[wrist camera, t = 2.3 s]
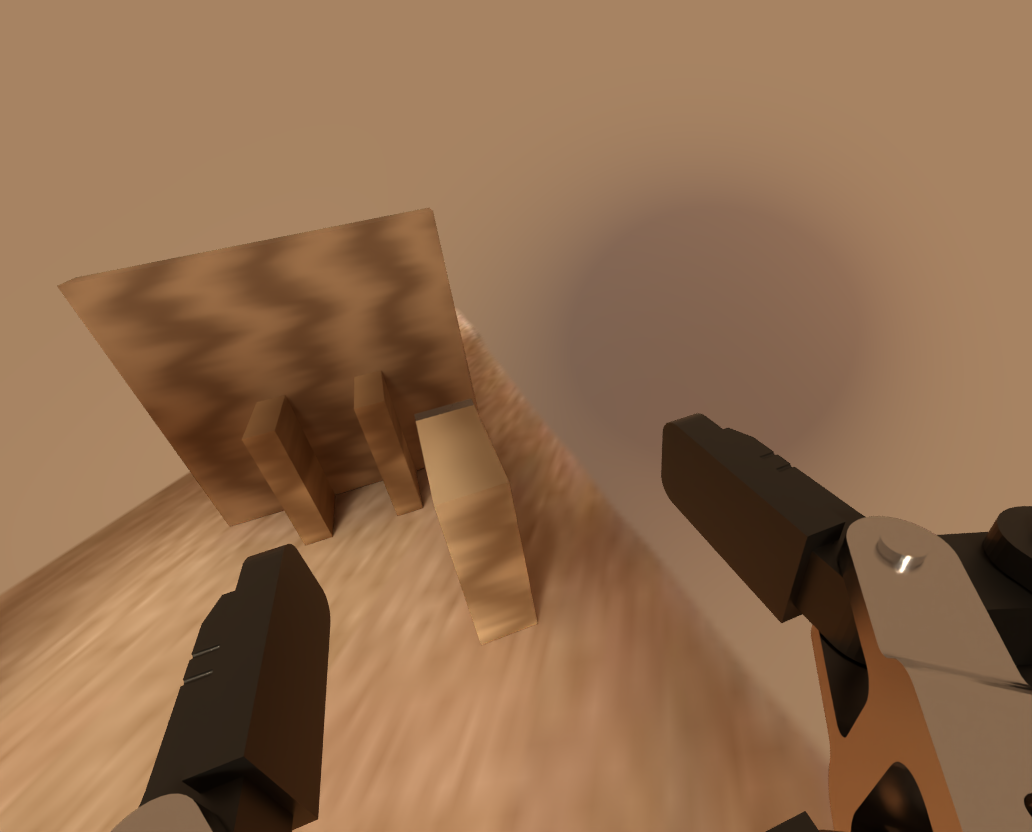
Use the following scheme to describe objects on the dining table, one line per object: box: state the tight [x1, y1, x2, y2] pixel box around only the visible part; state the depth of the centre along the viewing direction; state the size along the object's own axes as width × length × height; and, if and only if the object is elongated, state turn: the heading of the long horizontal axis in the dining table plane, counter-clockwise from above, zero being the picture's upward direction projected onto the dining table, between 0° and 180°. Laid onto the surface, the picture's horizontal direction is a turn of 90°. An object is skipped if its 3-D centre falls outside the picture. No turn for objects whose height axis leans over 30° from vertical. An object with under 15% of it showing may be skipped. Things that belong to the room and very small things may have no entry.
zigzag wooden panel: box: [58, 208, 479, 545], centre depth 31 cm, size 22×7×20 cm, turn 108°
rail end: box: [414, 399, 538, 645], centre depth 25 cm, size 3×8×11 cm, turn 18°
